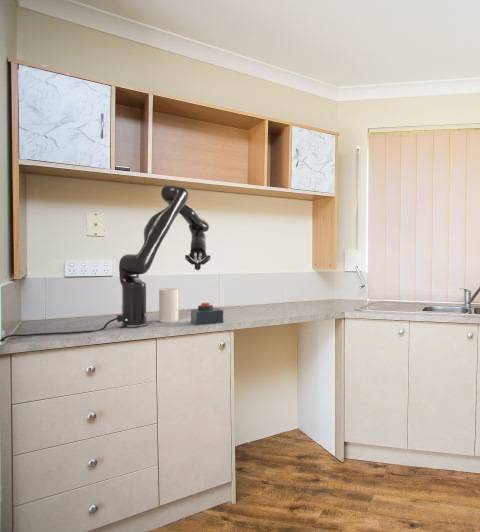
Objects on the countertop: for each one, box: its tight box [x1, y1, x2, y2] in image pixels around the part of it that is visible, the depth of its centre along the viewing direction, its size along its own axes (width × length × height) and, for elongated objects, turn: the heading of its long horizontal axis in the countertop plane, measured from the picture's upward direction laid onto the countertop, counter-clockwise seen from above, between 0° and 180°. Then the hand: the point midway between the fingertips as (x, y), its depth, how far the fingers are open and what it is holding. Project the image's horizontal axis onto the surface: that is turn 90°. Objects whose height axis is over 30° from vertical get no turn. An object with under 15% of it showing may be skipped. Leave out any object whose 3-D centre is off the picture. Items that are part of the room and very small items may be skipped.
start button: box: [200, 302, 211, 306], centre depth 195 cm, size 4×4×2 cm
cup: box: [158, 288, 179, 323], centre depth 195 cm, size 8×8×16 cm
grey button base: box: [190, 304, 224, 326], centre depth 194 cm, size 12×12×8 cm
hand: (197, 269), depth 208 cm, fingers closed
